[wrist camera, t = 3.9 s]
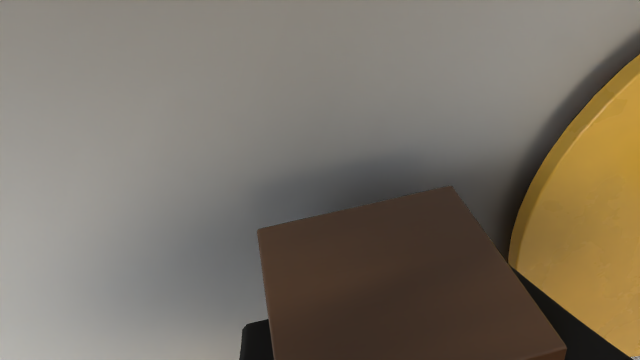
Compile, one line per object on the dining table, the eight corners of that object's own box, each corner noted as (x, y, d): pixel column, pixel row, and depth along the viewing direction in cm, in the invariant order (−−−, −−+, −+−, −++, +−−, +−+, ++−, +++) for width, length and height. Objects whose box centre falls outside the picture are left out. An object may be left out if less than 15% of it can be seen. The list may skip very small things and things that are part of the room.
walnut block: (451, 183, 11) (569, 347, 7) (449, 314, 13) (536, 482, 10) (256, 228, 10) (281, 421, 7) (290, 353, 13) (322, 542, 9)
